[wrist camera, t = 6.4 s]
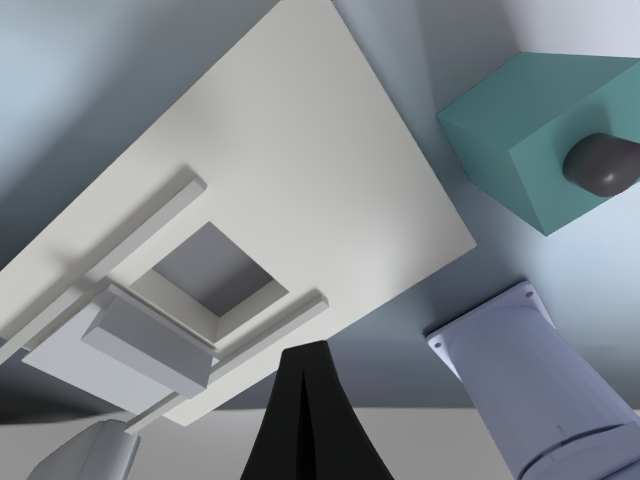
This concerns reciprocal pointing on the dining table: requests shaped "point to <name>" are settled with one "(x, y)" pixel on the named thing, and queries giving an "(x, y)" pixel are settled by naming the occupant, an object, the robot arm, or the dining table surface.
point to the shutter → (124, 353)
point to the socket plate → (249, 211)
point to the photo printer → (92, 455)
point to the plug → (550, 134)
